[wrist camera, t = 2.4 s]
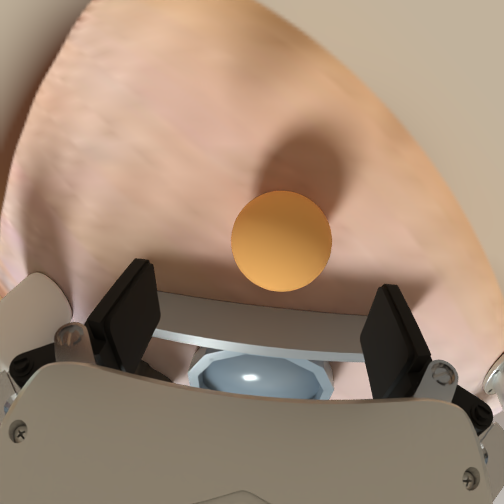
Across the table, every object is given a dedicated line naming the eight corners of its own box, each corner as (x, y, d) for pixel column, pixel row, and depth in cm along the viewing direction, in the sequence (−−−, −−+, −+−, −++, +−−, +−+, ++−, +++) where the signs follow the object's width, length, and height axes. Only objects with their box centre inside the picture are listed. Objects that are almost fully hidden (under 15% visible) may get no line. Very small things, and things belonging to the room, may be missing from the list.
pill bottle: (45, 261, 24) (-43, 349, 11) (84, 319, 27) (16, 416, 14) (21, 278, 27) (-50, 351, 13) (54, 327, 30) (-4, 406, 17)
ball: (331, 186, 18) (350, 218, 13) (317, 264, 21) (325, 317, 15) (242, 176, 18) (222, 203, 13) (237, 255, 21) (221, 305, 16)
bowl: (346, 334, 24) (350, 355, 21) (312, 412, 30) (313, 428, 28) (190, 317, 25) (182, 335, 22) (200, 398, 31) (195, 414, 29)
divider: (402, 317, 22) (417, 353, 18) (398, 326, 23) (412, 362, 19) (138, 287, 24) (115, 319, 20) (139, 296, 24) (118, 328, 20)
